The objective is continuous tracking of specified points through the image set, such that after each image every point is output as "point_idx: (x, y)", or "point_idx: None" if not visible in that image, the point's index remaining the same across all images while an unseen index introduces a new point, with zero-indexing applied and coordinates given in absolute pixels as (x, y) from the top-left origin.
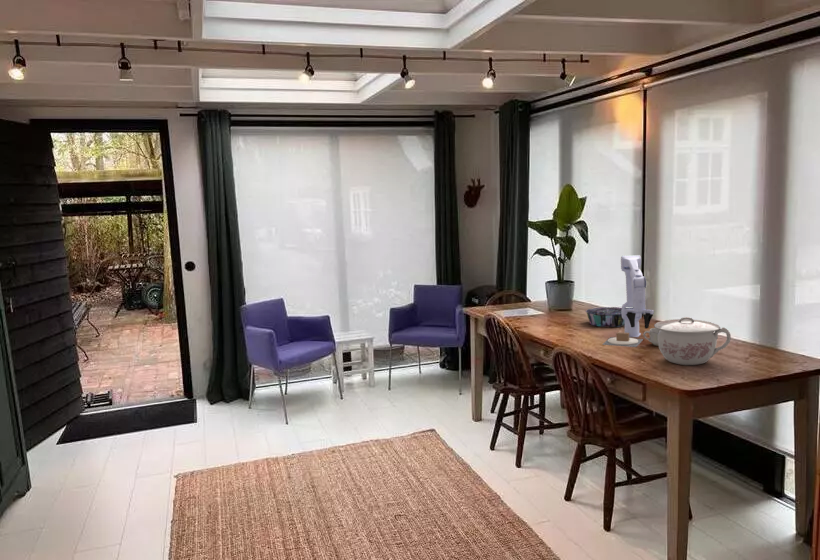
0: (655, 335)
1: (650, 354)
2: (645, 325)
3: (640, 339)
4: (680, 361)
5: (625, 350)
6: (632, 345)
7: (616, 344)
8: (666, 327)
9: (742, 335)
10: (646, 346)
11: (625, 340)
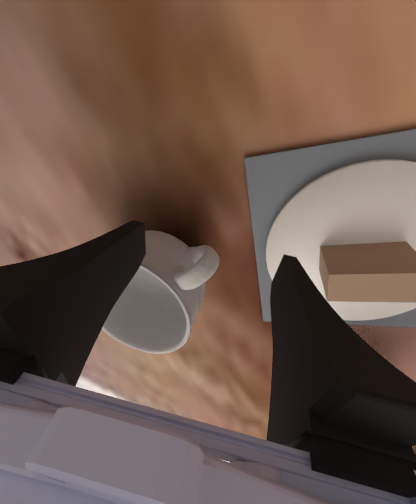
0: None
1: (97, 7)
2: (118, 229)
3: None
4: None
5: (295, 22)
6: (278, 186)
7: (397, 160)
8: None
9: None
10: (208, 214)
11: (340, 246)
